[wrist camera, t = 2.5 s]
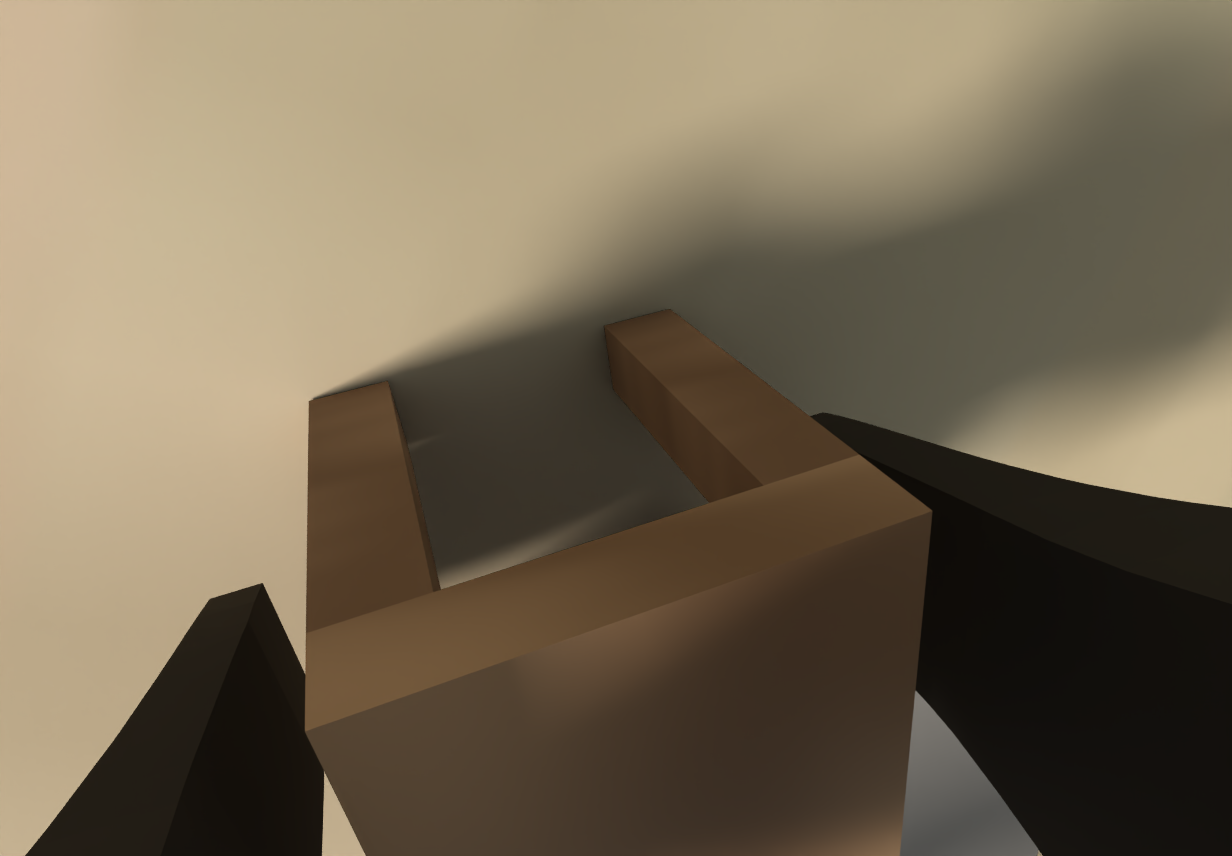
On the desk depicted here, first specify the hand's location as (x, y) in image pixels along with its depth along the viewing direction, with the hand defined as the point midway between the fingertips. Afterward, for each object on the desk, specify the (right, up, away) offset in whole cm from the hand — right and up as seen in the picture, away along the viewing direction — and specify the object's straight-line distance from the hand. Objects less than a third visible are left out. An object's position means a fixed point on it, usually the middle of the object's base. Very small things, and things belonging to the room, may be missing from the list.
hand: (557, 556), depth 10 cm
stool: (0, +1, +1) cm, 1 cm away
